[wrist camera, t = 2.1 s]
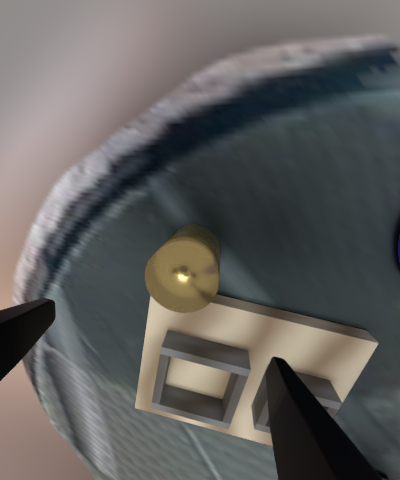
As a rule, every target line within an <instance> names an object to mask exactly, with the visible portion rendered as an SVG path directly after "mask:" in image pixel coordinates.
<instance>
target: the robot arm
mask: <svg viewBox="0 0 400 480" xmlns="http://www.w3.org/2000/svg"><path fill="white" fill-rule="evenodd" d="M55 316H56V315H55V302H54V301H53V300H50V299H46V298H42V299H38V300H35V301H31V302H28V303H24V304H21V305H17V306H14V307H10V308H7V309H3V310H0V381H1V380H2V379H3V378H4V377H5V376H6V375H7V374H8V373H9V372H10V371H11V370H12V369H13V368H14V367H15V366H16V364H18V363H19V361H20V360H21V359H22V358H23V357H24V356H25V355H26V354H27V353H28V352H29V350H30V349H31V348H32V347H33V346H34V344H35V343H36V342H37V341H38V340H39V339H40V337H41V336H42V335H43V334H44V333H45V331H46V330H47V329H48V328H49V327H50V326H51V324H52V323H53V322H54V320H55ZM266 390H267V403H268V415H269V425H270V432H271V439H272V444H273V450H274V456H275V462H276V468H277V474H278V479H279V480H389V479H388V477H387V476H386V475H385V474H382V473H378V472H376V471H375V469H374V468H373V467H372V466H371V465H370V463H369V462H368V461H367V460H366V458H365V457H364V456H363V455H362V454H361V452H360V451H359V450H358V449H357V447H356V446H355V445H354V444H353V443H352V441H351V440H350V439H349V438H348V436H347V435H346V434H345V433H344V432H343V430H342V429H341V428H340V427H339V425H338V424H337V423H336V422H335V421H334V419H333V418H332V417H331V416H330V414H329V413H328V412H327V411H326V409H325V408H324V407H323V406H322V405H321V403H320V402H319V401H318V400H317V398H316V397H315V396H314V395H313V394H312V392H311V391H310V390H309V389H308V387H307V386H306V385H305V384H304V383H303V381H302V380H301V379H300V378H299V376H298V375H297V374H296V373H295V372H294V370H293V369H292V368H291V367H290V365H289V364H288V363H287V362H286V361H285V360H284V359H283V358H279V357H275V356H274V357H272V358H271V361H270V363H269V366H268V368H267V371H266Z"/></svg>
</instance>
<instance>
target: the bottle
mask: <svg viewBox="0 0 400 480" xmlns="http://www.w3.org/2000/svg"><path fill="white" fill-rule="evenodd" d="M398 257H399V262H400V235H399V241H398Z"/></svg>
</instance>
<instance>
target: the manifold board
mask: <svg viewBox="0 0 400 480" xmlns="http://www.w3.org/2000/svg"><path fill="white" fill-rule="evenodd" d="M378 344H379V343H378V342H377V341H376V340H375V339H374V338H373V337H372V336H371V335H370V334H369V333H368V332H367V331H366V330H363V329H358V328H354V327H350V326H346V325H342V324H338V323H333V322H329V321H325V320H321V319H317V318H313V317H308V316H304V315H300V314H296V313H292V312H288V311H284V310H279V309H275V308H271V307H267V306H263V305H259V304H254V303H250V302H246V301H242V300H238V299H234V298H229V297H225V296H221V295H217V294H216V295H215V297H214V299H213V300H212V302H211V303H210V304H209V305H207V306H206V307H205V308H203V309H201V310H199V311H196V312H191V313H179V312H174V311H171V310H168V309H166V308H164V307H163V306H161V305H160V304H158V303H157V302H156V301H155V300H154V299H153V297H152V296H151V297H150V304H149V312H148V319H147V326H146V333H145V340H144V347H143V355H142V362H141V369H140V376H139V383H138V390H137V397H136V405H135V408H137V409H141V410H144V411H148V412H152V413H155V414H159V415H162V416H166V417H170V418H173V419H177V420H180V421H184V422H187V423H191V424H195V425H198V426H202V427H205V428H209V429H213V430H216V431H220V432H223V433H227V434H230V435H234V436H238V437H241V438H245V439H248V440H252V441H256V442H259V443H263V444H266V445H270V446H273V444H272V439H271V432H270V425H269V415H268V403H267V390H266V371H267V368H268V366H269V363H270V361H271V358H272V357H274V356H275V357H279V358H283V359H284V360H285V361H286V362H287V363H288V364H289V365H290V367H291V368H292V369H293V370H294V372H295V373H296V374H297V375H298V376H299V378H300V379H301V380H302V381H303V383H304V384H305V385H306V386H307V387H308V389H309V390H310V391H311V392H312V394H313V395H314V396H315V397H316V398H317V400H318V401H319V402H320V403H321V405H322V406H323V407H324V408H325V409H326V411H327V412H328V413H329V414H330V416H331V417H332V418H334V416H335V415H336V413H337V412H338V410H339V408H340V407H341V405H342V403H343V401H344V400H345V398H346V396H347V395H348V393H349V391H350V390H351V388H352V386H353V385H354V383H355V381H356V380H357V378H358V377H359V375H360V373H361V372H362V370H363V368H364V367H365V365H366V363H367V362H368V360H369V358H370V357H371V355H372V353H373V352H374V350H375V349H376V347H377V345H378Z"/></svg>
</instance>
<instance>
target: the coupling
mask: <svg viewBox="0 0 400 480" xmlns="http://www.w3.org/2000/svg"><path fill="white" fill-rule="evenodd" d="M219 265H220V244H219V241H218V238H217V237H216V235H215V234H214V233H213V232H212V231H211V230H210V229H208V228H207V227H205V226H202V225H197V224H191V225H186V226H184V227H182V228H180V229H179V230H177V231H176V232H175V233H174V235H173V236H172V237H171V238H170V239H169V240H168V241H167V242H166V243H165V244H164V245H163V246H162V247H161V248H160V249H159V250H158V251H157V252H156V253H155V254H154V255H153V256H152V257H151V259H150V260H149V262H148V264H147V266H146V270H145V283H146V286H147V289H148V291H149V293H150V295H151V296H152V297H153V299H154V300H155V301H156V302H157V303H158V304H160V305H161V306H163V307H164V308H166V309H168V310H171V311H174V312H179V313H191V312H196V311H199V310H201V309H203V308H205V307H206V306H207V305H209V304H210V303H211V302H212V300H213V299H214V297H215V295H216V293H217V290H218V285H219Z"/></svg>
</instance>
